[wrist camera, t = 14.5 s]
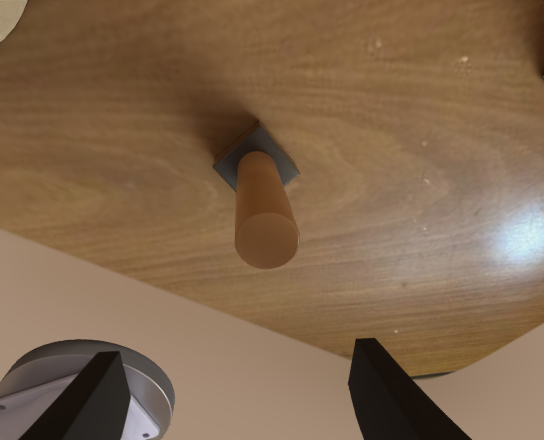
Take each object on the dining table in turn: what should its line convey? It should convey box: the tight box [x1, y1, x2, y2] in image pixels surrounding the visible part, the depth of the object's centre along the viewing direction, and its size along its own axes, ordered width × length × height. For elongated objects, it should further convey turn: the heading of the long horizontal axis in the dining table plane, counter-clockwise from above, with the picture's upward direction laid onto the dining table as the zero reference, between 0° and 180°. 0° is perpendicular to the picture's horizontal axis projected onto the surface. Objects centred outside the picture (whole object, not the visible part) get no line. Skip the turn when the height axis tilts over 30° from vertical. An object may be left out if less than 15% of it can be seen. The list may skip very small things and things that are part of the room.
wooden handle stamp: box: [213, 120, 300, 269], centre depth 14 cm, size 3×3×9 cm
